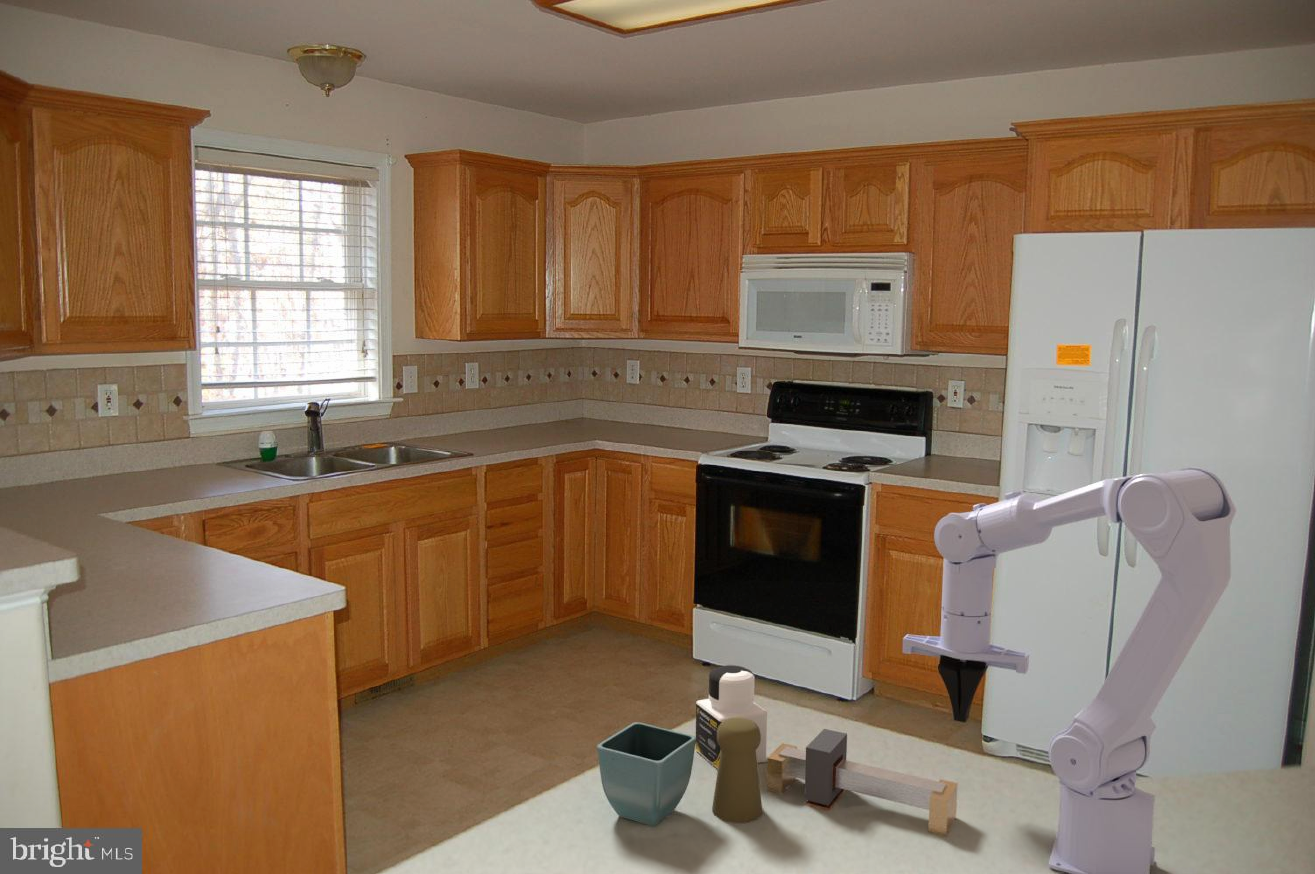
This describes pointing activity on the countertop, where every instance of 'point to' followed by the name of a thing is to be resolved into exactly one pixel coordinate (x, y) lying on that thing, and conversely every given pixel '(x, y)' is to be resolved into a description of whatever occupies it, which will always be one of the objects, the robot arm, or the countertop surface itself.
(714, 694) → the medicine bottle
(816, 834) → the countertop surface
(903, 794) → the rail
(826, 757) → the collar
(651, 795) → the flower pot
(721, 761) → the brown pawn figure
